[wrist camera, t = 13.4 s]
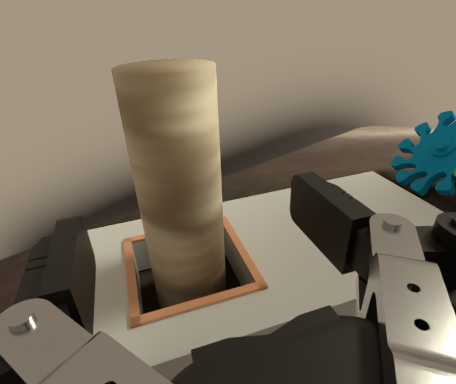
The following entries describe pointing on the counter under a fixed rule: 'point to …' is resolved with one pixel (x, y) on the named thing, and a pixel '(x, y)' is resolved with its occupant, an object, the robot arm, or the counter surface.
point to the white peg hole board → (244, 270)
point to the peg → (176, 172)
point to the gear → (430, 157)
